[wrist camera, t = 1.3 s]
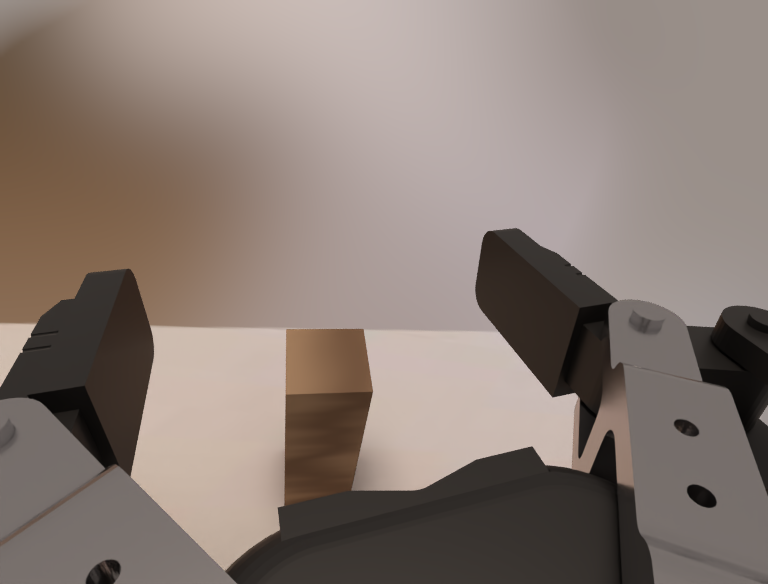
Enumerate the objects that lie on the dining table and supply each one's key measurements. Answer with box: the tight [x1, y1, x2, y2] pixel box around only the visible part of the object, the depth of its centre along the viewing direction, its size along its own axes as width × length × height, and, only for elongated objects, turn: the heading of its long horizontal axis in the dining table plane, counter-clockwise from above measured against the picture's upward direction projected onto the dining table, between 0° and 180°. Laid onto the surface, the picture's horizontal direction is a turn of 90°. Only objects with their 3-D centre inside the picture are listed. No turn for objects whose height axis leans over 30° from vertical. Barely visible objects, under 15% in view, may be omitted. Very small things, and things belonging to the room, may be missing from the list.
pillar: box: [285, 329, 373, 506], centre depth 27 cm, size 4×4×12 cm
